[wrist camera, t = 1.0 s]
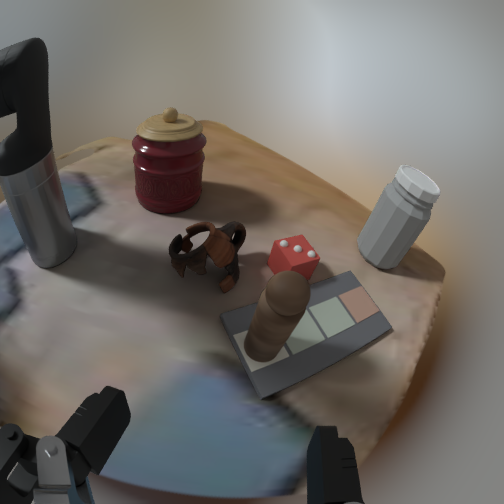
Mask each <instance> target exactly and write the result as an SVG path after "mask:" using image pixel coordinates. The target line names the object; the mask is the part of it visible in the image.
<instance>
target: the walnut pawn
mask: <svg viewBox="0 0 504 504" xmlns="http://www.w3.org/2000/svg"><path fill="white" fill-rule="evenodd" d="M310 296H311V290H310V286H309V283H308V281H307V280H306V279H305V278H304V277H303V276H302V275H301V274H299V273H297V272H295V271H282V272H279V273H277V274H275V275H274V276H273V277H272V278H271V279H270V280H269V282H268V284H267V286H266V288H265V289H264V290H263V292H262V294H261V296H260V299H259V302H258V304H257V307H256V310H255V313H254V316H253V318H252V321H251V324H250V326H249V329H248V332H247V335H246V337H245V340H244V350H245V352H246V354H247V355H248V356H249V357H250V358H251V359H252V360H254V361H257V362H269V361H271V360H273V359H274V358H275V357H276V356H277V354H278V353H279V351H280V350H281V349H282V347H283V346H284V344H285V343H286V341H287V340H288V338H289V337H290V335H291V334H292V332H293V331H294V329H295V328H296V326H297V325H298V323H299V321H300V320H301V318H302V317H303V315H304V313H305V311H306V306H307V305H308V303H309V300H310Z"/></svg>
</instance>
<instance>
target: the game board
mask: <svg viewBox="0 0 504 504" xmlns="http://www.w3.org/2000/svg"><path fill="white" fill-rule="evenodd" d="M309 286H310V290H311V296H310V300H309V303H308V305H307V306H306V311H305V313H304V315H303V317H302V318H301V320H300V321H299V323H298V325H297V326H296V328H295V329H294V331H293V332H292V334H291V335H290V337H289V338H288V340H287V341H286V343H285V344H284V346H283V347H282V349H281V350H280V351H279V353H278V354H277V356H276V357H275V358H274V359H273V360H271V361H269V362H257V361H254V360H252V359H251V358H250V357H249V356H248V355H247V354H246V352H245V350H244V340H245V337H246V335H247V332H248V329H249V326H250V324H251V321H252V318H253V316H254V313H255V310H256V307H257V304H258V302H257V303H254V304H251V305H248V306H245V307H241V308H238V309H235V310H232V311H228V312H225V313H222V314H221V315H220V318H221V321H222V323H223V325H224V327H225V329H226V331H227V334H228V336H229V338H230V340H231V342H232V344H233V346H234V348H235V350H236V352H237V354H238V356H239V358H240V360H241V362H242V365H243V367H244V369H245V371H246V373H247V375H248V376H249V378H250V380H251V382H252V384H253V386H254V388H255V390H256V392H257V394H258V396H259V398H260V400H261V399H263V398H266V397H268V396H270V395H273V394H275V393H277V392H279V391H281V390H284V389H286V388H288V387H290V386H292V385H294V384H296V383H298V382H300V381H302V380H304V379H306V378H308V377H310V376H312V375H314V374H316V373H318V372H320V371H322V370H324V369H325V368H327V367H329V366H331V365H333V364H334V363H336V362H338V361H340V360H342V359H343V358H345V357H347V356H349V355H350V354H352V353H354V352H355V351H357V350H359V349H360V348H362V347H364V346H365V345H367V344H368V343H370V342H372V341H373V340H375V339H376V338H378V337H379V336H381V335H382V334H384V333H385V332H387V331H388V330H390V329H391V328H392V326H391V325H390V323H389V322H388V321H387V319H386V318H385V316H384V315H383V314H382V312H381V311H380V309H379V308H378V307H377V305H376V304H375V302H374V301H373V300H372V298H371V297H370V296H369V294H368V293H367V292H366V290H365V289H364V288H363V286H362V285H361V284H360V282H359V281H358V280H357V278H356V277H355V276H354V275H353V273H352V272H351V271H348V272H345V273H342V274H339V275H337V276H334V277H331V278H328V279H326V280H323V281H320V282H317V283H314V284H311V285H309Z"/></svg>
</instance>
